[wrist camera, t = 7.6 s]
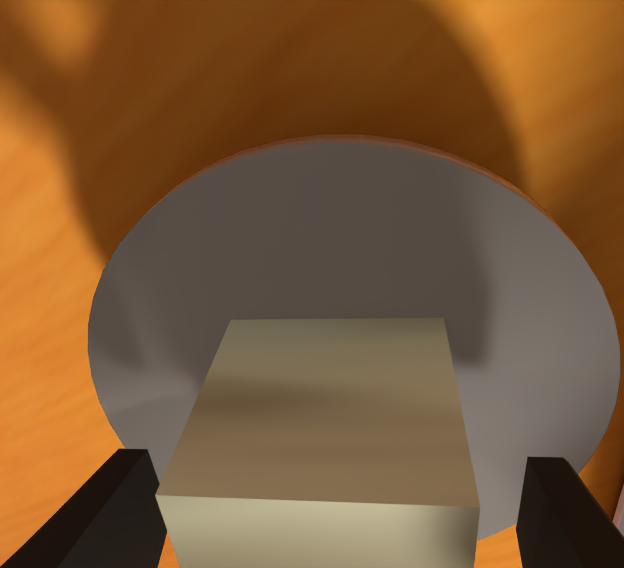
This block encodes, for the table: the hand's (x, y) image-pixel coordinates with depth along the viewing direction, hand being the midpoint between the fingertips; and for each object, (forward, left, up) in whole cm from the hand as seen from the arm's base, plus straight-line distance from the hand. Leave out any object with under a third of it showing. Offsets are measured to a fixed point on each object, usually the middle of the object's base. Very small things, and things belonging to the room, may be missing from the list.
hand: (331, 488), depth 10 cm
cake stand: (0, 0, -7) cm, 7 cm away
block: (0, 0, -2) cm, 2 cm away
